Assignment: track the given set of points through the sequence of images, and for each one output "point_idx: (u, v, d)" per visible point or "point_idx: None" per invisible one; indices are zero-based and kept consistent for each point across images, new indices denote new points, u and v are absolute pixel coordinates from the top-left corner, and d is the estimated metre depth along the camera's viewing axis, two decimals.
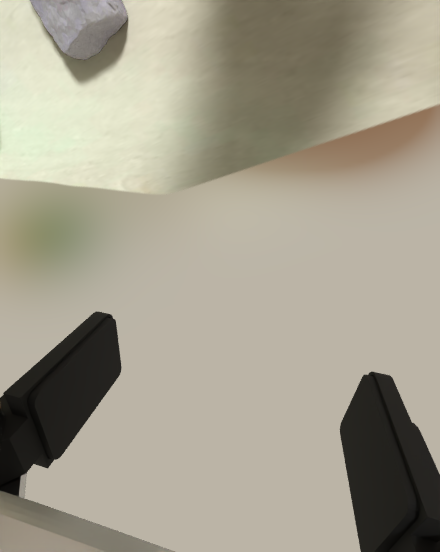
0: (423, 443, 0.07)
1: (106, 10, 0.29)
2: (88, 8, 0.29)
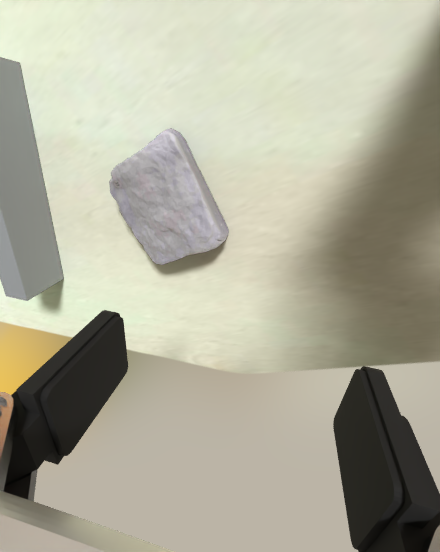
0: (412, 435, 0.08)
1: (214, 245, 0.27)
2: (195, 244, 0.26)
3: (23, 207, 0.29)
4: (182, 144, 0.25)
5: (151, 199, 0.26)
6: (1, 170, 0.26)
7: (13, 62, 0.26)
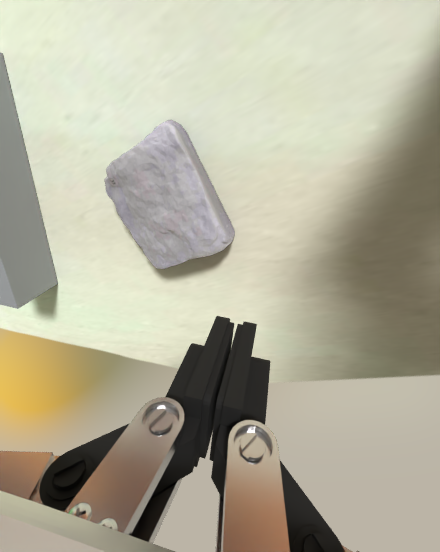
0: None
1: (219, 248, 0.24)
2: (198, 248, 0.24)
3: (11, 209, 0.28)
4: (183, 137, 0.22)
5: (149, 198, 0.24)
6: None
7: None
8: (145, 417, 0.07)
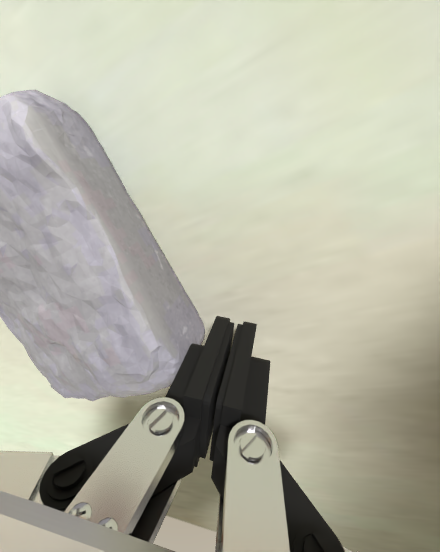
0: None
1: (164, 384, 0.11)
2: (116, 387, 0.11)
3: None
4: (65, 136, 0.09)
5: (4, 274, 0.10)
6: None
7: None
8: (145, 417, 0.07)
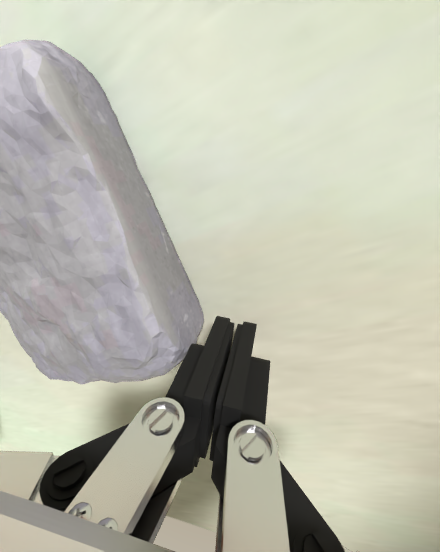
0: None
1: (161, 371, 0.10)
2: (110, 371, 0.10)
3: None
4: (79, 96, 0.08)
5: None
6: None
7: None
8: (145, 417, 0.07)
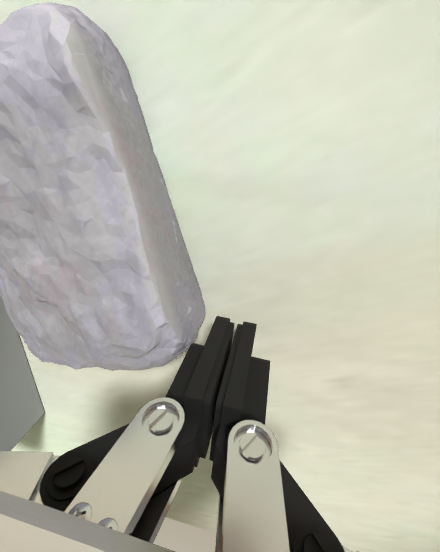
0: (268, 373, 0.09)
1: (160, 363, 0.10)
2: (108, 358, 0.10)
3: None
4: (104, 70, 0.08)
5: (0, 215, 0.09)
6: None
7: None
8: (145, 417, 0.07)
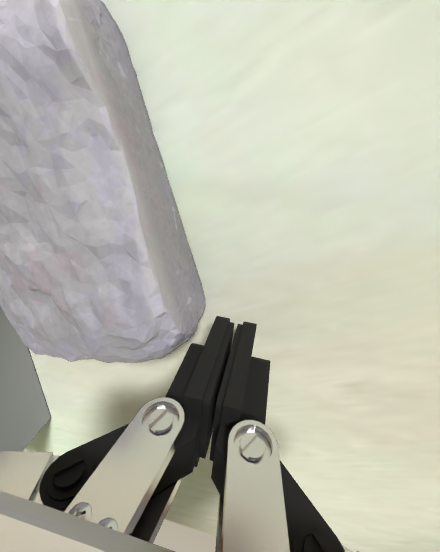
0: (268, 373, 0.09)
1: (158, 354, 0.10)
2: (105, 350, 0.09)
3: None
4: (100, 41, 0.07)
5: None
6: None
7: None
8: (145, 417, 0.07)
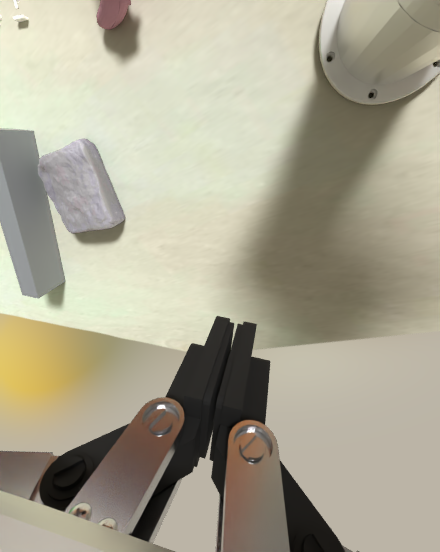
0: None
1: (107, 225, 0.38)
2: (93, 223, 0.37)
3: (35, 230, 0.41)
4: (90, 151, 0.35)
5: (65, 185, 0.37)
6: (21, 206, 0.38)
7: (29, 131, 0.37)
8: (145, 417, 0.07)
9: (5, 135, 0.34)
